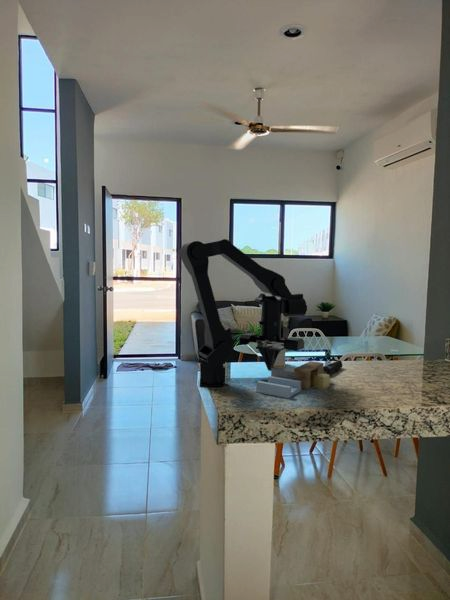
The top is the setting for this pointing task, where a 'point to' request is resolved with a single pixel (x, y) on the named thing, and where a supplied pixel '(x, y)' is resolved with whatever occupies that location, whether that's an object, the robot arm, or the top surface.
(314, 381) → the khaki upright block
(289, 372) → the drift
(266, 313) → the robot arm
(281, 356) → the supplement box
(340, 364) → the electric trimmer
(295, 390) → the cradle
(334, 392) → the top surface
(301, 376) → the beam
